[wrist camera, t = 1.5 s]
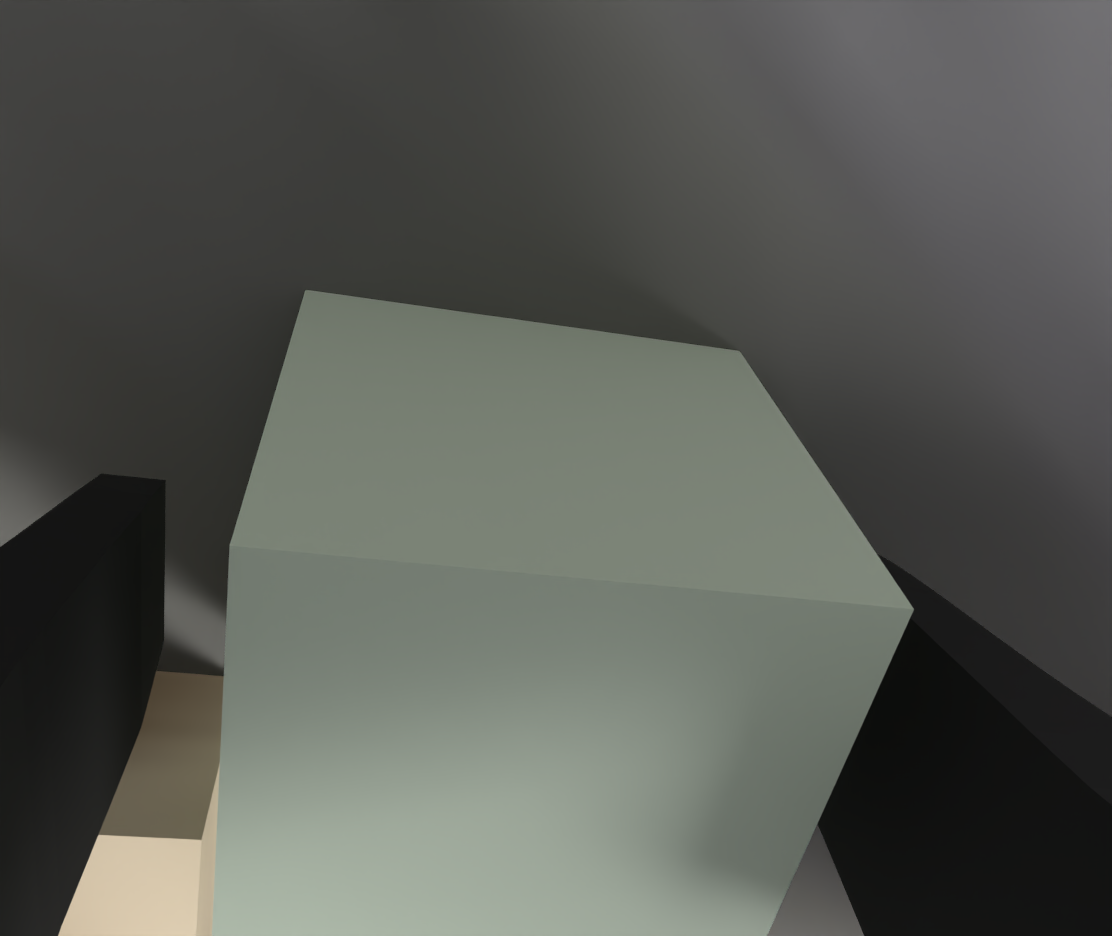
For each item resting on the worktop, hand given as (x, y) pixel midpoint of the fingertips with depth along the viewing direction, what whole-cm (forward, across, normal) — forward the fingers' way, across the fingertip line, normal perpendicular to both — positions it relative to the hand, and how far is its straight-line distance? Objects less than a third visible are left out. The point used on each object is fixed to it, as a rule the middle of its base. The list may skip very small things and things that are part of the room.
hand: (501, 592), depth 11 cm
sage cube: (+2, 0, 0) cm, 2 cm away
